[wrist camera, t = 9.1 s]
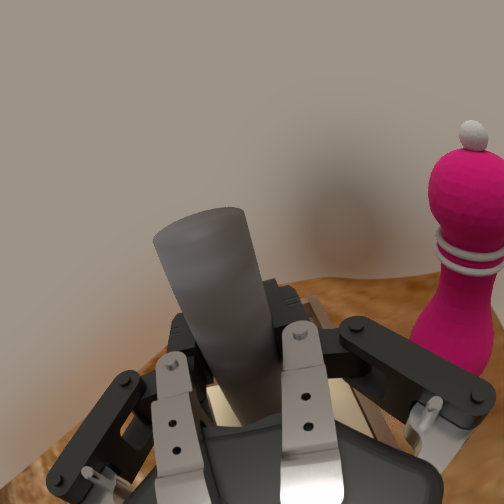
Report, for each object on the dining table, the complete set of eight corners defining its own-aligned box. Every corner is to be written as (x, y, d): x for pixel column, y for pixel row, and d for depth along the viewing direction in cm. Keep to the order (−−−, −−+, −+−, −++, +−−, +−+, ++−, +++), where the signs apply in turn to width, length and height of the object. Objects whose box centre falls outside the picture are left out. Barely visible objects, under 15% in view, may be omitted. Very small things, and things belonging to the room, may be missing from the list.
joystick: (219, 515, 12) (10, 338, 5) (213, 424, 19) (106, 228, 12) (372, 480, 12) (433, 229, 5) (336, 394, 19) (311, 170, 12)
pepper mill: (464, 422, 13) (547, 133, 5) (387, 402, 18) (398, 122, 10) (479, 357, 18) (516, 122, 9) (414, 343, 23) (419, 116, 14)
